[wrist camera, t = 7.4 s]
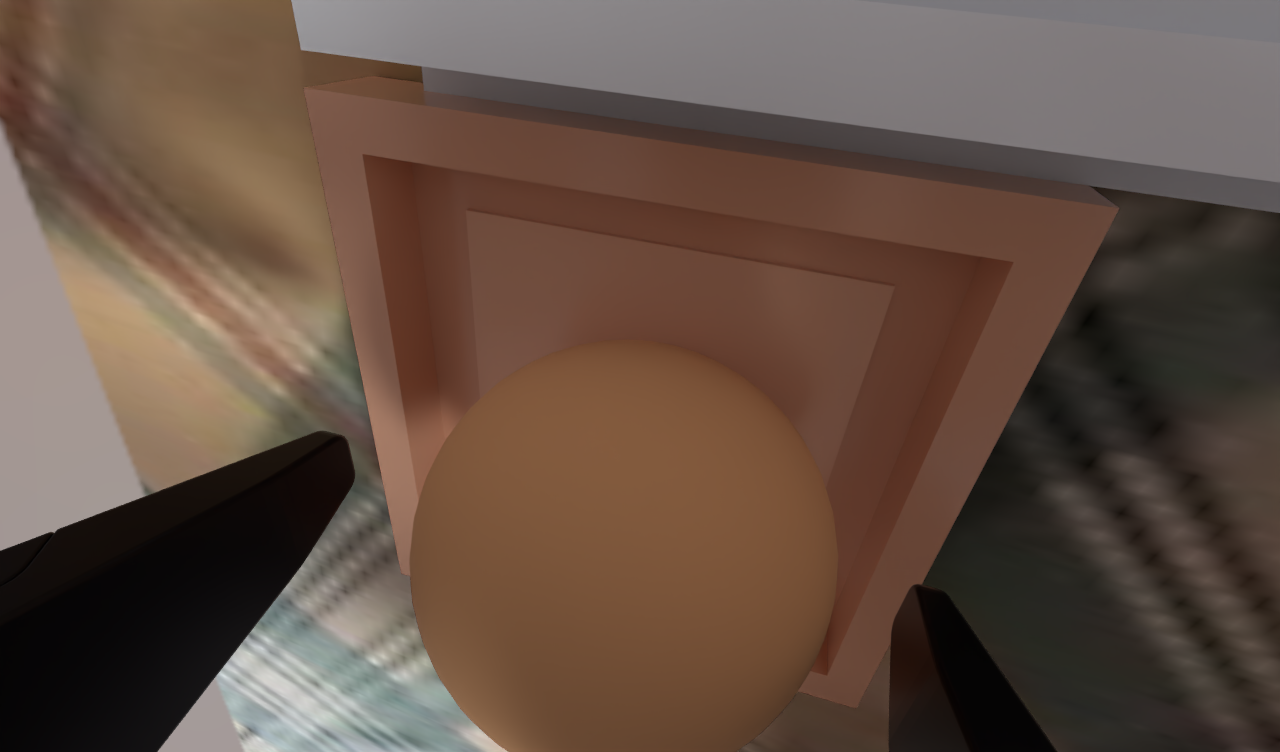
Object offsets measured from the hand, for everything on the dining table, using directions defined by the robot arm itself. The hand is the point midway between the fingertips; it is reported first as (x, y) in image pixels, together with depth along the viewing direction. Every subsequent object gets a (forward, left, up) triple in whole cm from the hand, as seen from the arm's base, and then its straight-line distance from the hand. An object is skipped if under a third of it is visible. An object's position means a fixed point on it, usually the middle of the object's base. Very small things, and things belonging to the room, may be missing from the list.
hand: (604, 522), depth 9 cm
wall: (+7, -3, -3) cm, 8 cm away
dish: (0, 0, -3) cm, 3 cm away
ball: (0, 0, 0) cm, 1 cm away
